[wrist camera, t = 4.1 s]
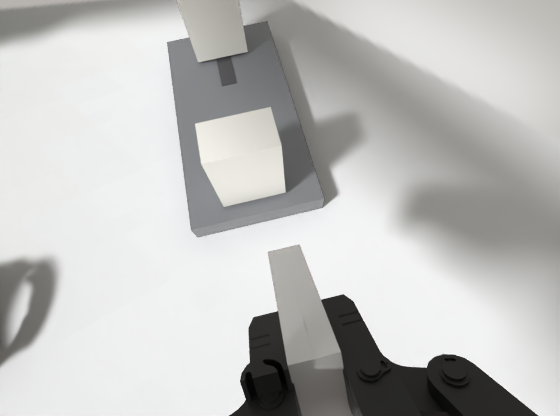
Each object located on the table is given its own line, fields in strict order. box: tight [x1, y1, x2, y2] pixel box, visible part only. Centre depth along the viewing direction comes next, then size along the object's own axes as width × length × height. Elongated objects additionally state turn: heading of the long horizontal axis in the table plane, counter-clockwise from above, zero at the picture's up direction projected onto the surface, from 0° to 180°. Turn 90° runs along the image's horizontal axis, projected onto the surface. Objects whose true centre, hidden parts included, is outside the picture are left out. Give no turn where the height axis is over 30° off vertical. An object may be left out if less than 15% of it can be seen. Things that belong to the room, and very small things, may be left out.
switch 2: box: [195, 107, 286, 207], centre depth 26 cm, size 4×6×7 cm, turn 103°
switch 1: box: [176, 0, 248, 62], centre depth 33 cm, size 4×6×7 cm, turn 103°
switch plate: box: [167, 21, 324, 237], centre depth 35 cm, size 27×12×2 cm, turn 13°
